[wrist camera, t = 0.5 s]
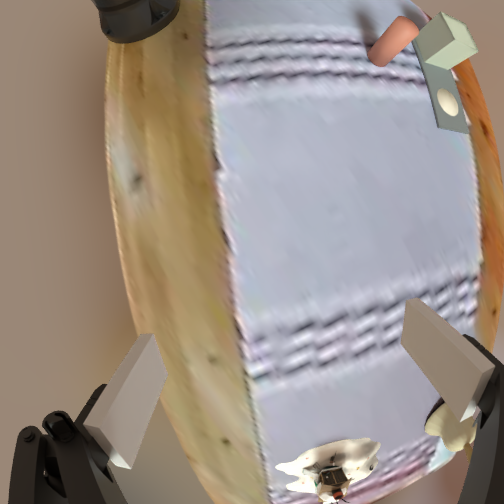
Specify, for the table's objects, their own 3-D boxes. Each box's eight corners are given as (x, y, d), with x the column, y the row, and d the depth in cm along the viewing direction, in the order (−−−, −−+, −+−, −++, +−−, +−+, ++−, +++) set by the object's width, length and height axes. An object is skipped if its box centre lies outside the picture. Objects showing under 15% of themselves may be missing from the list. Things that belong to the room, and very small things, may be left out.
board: (405, 27, 34) (414, 18, 30) (435, 38, 34) (445, 30, 30) (437, 127, 37) (450, 122, 33) (466, 133, 38) (479, 130, 34)
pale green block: (414, 36, 34) (440, 11, 23) (437, 44, 34) (465, 23, 23) (424, 62, 35) (454, 39, 24) (448, 69, 35) (478, 51, 24)
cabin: (419, 392, 45) (450, 426, 32) (380, 486, 51) (394, 515, 37) (232, 425, 44) (231, 477, 31) (246, 510, 50) (247, 545, 36)
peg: (365, 48, 35) (393, 13, 23) (383, 51, 35) (414, 19, 23) (370, 65, 36) (401, 31, 24) (389, 68, 36) (422, 38, 24)
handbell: (476, 401, 45) (512, 462, 21) (433, 435, 49) (459, 500, 25) (463, 379, 44) (508, 451, 20) (414, 419, 47) (444, 497, 23)
